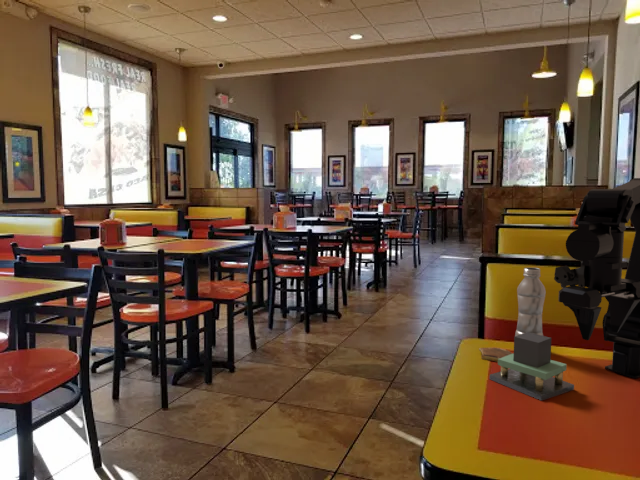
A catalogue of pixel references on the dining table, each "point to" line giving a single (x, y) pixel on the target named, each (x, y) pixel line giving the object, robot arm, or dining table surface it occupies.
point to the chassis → (532, 383)
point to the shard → (493, 353)
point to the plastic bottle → (530, 303)
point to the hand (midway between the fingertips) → (600, 335)
